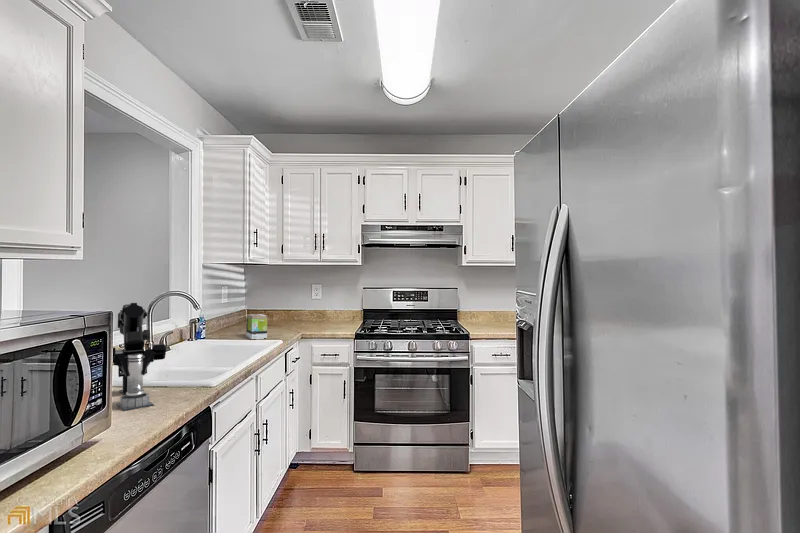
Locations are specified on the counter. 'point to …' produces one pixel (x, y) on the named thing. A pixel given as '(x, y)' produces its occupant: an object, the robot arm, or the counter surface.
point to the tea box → (256, 326)
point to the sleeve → (134, 402)
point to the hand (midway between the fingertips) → (135, 375)
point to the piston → (135, 375)
